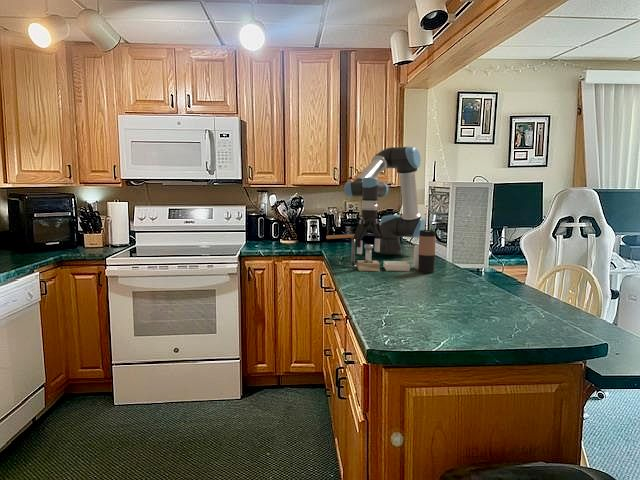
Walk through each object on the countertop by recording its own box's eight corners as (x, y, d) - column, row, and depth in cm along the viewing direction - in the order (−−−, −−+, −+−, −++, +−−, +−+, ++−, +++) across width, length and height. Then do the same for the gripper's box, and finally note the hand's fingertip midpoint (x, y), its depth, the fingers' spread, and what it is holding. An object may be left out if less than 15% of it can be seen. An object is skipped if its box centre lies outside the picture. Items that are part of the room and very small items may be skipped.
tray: (383, 266, 241) (383, 261, 240) (405, 267, 241) (405, 261, 240) (386, 270, 229) (386, 264, 229) (409, 271, 229) (409, 265, 229)
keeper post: (348, 265, 243) (349, 237, 241) (356, 265, 243) (357, 237, 241) (349, 267, 239) (349, 238, 237) (357, 267, 239) (357, 238, 237)
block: (357, 267, 239) (357, 260, 238) (377, 267, 239) (377, 260, 239) (358, 270, 229) (359, 263, 229) (379, 271, 229) (379, 263, 229)
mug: (421, 270, 232) (422, 247, 231) (409, 267, 240) (410, 245, 238) (439, 268, 238) (440, 246, 237) (427, 265, 246) (428, 244, 245)
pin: (363, 268, 236) (363, 244, 235) (372, 268, 236) (372, 244, 235) (364, 269, 232) (364, 245, 230) (373, 269, 232) (373, 245, 230)
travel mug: (415, 272, 226) (417, 230, 223) (420, 270, 232) (421, 229, 230) (431, 274, 222) (433, 231, 220) (436, 271, 229) (437, 230, 226)
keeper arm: (354, 236, 241) (354, 233, 241) (357, 237, 239) (357, 234, 239) (325, 238, 232) (325, 235, 232) (328, 239, 229) (328, 236, 229)
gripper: (358, 210, 219) (357, 255, 221) (391, 209, 237) (389, 251, 239) (346, 209, 224) (345, 254, 227) (379, 208, 242) (378, 249, 244)
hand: (368, 252), depth 233 cm, fingers open, 13 cm apart
